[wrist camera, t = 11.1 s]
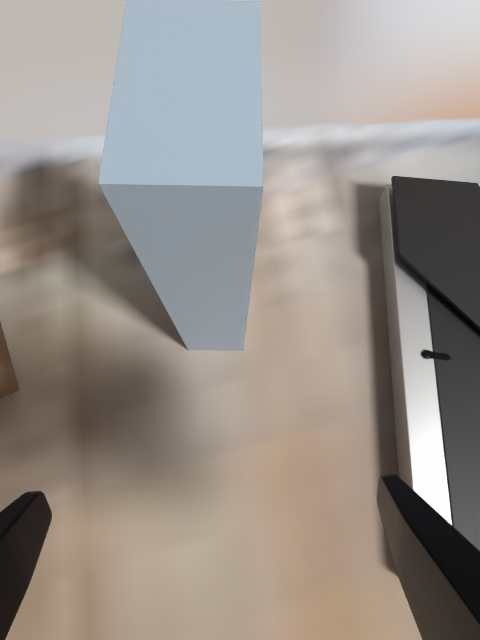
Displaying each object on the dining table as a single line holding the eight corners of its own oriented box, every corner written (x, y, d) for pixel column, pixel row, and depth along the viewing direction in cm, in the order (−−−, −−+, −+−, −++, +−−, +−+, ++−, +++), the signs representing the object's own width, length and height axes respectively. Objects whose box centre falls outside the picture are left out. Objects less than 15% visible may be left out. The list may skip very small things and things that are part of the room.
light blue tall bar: (243, 350, 19) (263, 187, 6) (187, 349, 19) (97, 183, 6) (243, 267, 21) (259, 0, 8) (192, 266, 21) (126, -3, 8)
